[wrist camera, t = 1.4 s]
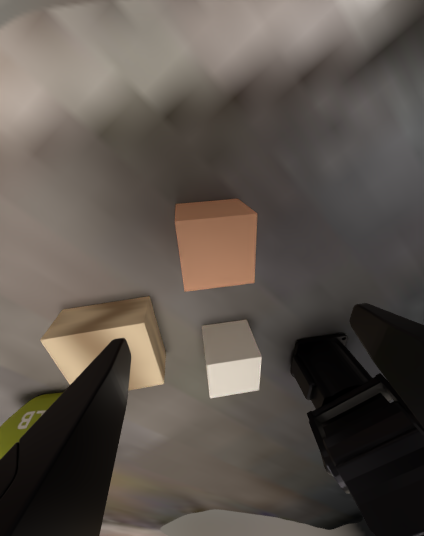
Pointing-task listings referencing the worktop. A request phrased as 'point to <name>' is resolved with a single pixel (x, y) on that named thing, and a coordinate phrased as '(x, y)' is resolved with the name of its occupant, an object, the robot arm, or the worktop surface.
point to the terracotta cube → (216, 243)
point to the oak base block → (108, 339)
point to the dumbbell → (24, 420)
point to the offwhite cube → (231, 358)
